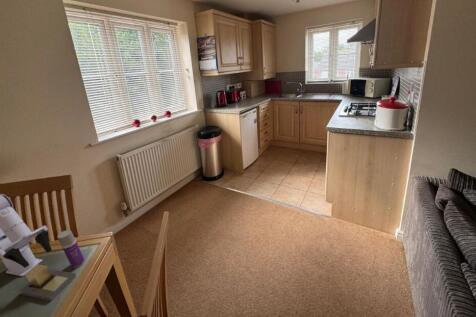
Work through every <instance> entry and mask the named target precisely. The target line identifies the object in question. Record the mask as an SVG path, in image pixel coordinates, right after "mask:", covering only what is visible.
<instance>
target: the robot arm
mask: <svg viewBox="0 0 476 317" xmlns="http://www.w3.org/2000/svg"><path fill="white" fill-rule="evenodd" d="M48 230H49V229H48V226H46V225H43V226H41V227H39V228H37V229H35V230H33V231H31V229H30V228H29V226H28V225H27V224H26V223H25V222H24V220H23V219H22V217H21V216H20V215H19V214H18V213H17V211H16V210H15V209H14V204H13V202H12V201H11V200H10V198H9V197H8V196H7V195H6V194H5V193H1V194H0V259H1V261H2V263H3V264H4V266H5V267H6V269H7V270H6V271H5V273H6V274H10V275H15V276H19V277H24V276H25V274H26V273H27V272H28V271H30V270H31V269H32V268H33V267H35V266H36V265H37V264H38V265H40V263H41V262H43V259H40V258H36V256H35V255H34V254H33V251H32V250H31V248H30V243H31V241H32V240H33V239H34V241H36V242H37V243H38V244H39V245H40V246H41V247H42V248H43V249H44V251H45V252H46V253H47V254H48V253H50V252H51V251H53V249H52V246H51V244H50V240H49V231H48Z"/></svg>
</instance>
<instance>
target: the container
mask: <svg viewBox="0 0 476 317" xmlns="http://www.w3.org/2000/svg"><path fill="white" fill-rule="evenodd" d="M56 238H57V240H58V242H59V244H60V246H61V249H62V250H63V252H64V254H65V256H66V258H67V260H68V263H69V264H70V266H71V268H72V269H77V268H78V267H81V266H82V265H84V263H85V261H86V260H85V257H84V255H83V253H82V251H81V248H80V246H79V244H78V242H77V239H76V238H75V236H74V234H73V232H72V231H71V230H70V229H68V230H67V229H66V230H63V231H62V232H60V233H59V234H57V237H56Z"/></svg>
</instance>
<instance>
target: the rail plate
mask: <svg viewBox="0 0 476 317" xmlns="http://www.w3.org/2000/svg"><path fill="white" fill-rule="evenodd" d="M48 269H49V271H50V273H51V275H52V277H53V278H52V279H51V280H50V281H49V282H48V283H46V284H45V285H44V286H43V287H42V288H41V289H38V288H33V287H32V286H31V284H30V282H29V281H28V283H27V284H25V285H24V286H23V287H22V288H21V289H19V290H18V292H19V293H20V295H23V296H28V297H32V298H37V299H40V300H45V301H50V302H52V301H53V300H54V299H55V298H56V297H57V296H58V295H60V293H61V292H62V291H64V289H66V287H67V286H68V285H69V284H70V283H71V282H72V281H73V280H74V279H75V278H76V277H77V275H76V273H74V272H70V271H68V272H67V271H64V270H57V269H53V268H48Z"/></svg>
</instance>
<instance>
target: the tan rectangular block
mask: <svg viewBox="0 0 476 317" xmlns="http://www.w3.org/2000/svg"><path fill="white" fill-rule="evenodd" d="M49 269H50V268H49V267H48V266H47V265H43V264H37V265H36V266H35V267H33V268H32V269H31V270H30V271H28V272H27V273H26V274H25V275H24V276H25V277H26V279H27V281H28V283H29V282H30V284H31V286H32V287H33V288H38V289H41V288H42V287H43V286H44V285H45V284H46V283H48V282H49V281H50V280H51V279H52V278H53V277H52V275H51V273H50V271H49Z"/></svg>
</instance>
